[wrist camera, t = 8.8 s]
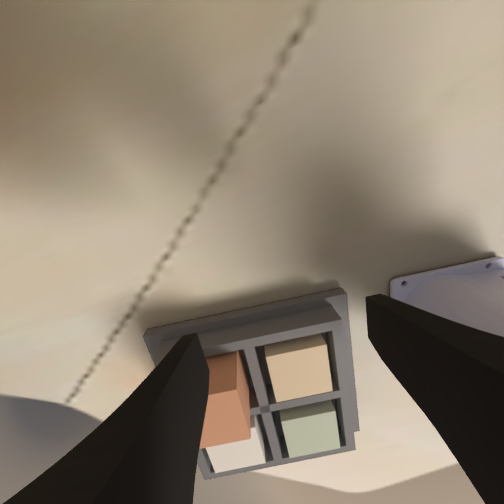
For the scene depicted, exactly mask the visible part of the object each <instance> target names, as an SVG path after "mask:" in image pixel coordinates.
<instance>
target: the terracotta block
mask: <svg viewBox="0 0 504 504" xmlns="http://www.w3.org/2000/svg"><path fill="white" fill-rule="evenodd" d="M205 358H206V361H207V364H208V367H209V370H210V375H209V394H208V401H207V407H206V413H205V419H204V425H203V430H202V436H201V442H200V448H199V449H202V448H207V447H212V446H217V445H222V444H227V443H232V442H237V441H242V440H247V439H251V428H250V404H249V381H248V376H247V373H246V369H245V365H244V361H243V358H242V354H241V350H237V351H232V352H228V353H223V354H218V355H213V356H209V357H205Z"/></svg>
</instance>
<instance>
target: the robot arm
mask: <svg viewBox="0 0 504 504" xmlns="http://www.w3.org/2000/svg"><path fill="white" fill-rule="evenodd" d="M403 281H404V283H403V284H402V282H403ZM401 284H402V285H401ZM366 312H367V327H368V338H369V340H370V341H371V343H372V345H373V346H374V348H375V350H376V351H377V353H378V354H379V356H380V357H381V359H382V360H383V362H384V363H385V364H386V366H387V367H388V368H389V369H390V371H391V372H392V373H393V375H394V376H395V377H396V378H397V380H398V381H399V382H400V383H401V385H402V386H403V387H404V388H405V390H406V391H407V392H408V393H409V395H410V396H411V397H412V398H413V400H414V401H415V402H416V403H417V405H418V406H419V407H420V408H421V410H422V411H423V412H424V413H425V415H426V416H427V417H428V419H429V420H430V421H431V423H432V424H433V425H434V427H435V428H436V430H437V431H438V433H439V434H440V435H441V437H442V438H443V440H444V441H445V443H446V444H447V446H448V447H449V449H450V450H451V452H452V453H453V455H454V456H455V458H456V459H457V461H458V462H459V464H460V465H461V467H462V468H463V470H464V471H465V473H466V475H467V476H468V478H469V479H470V481H471V482H472V484H473V485H474V487H475V488H476V490H477V491H478V493H479V495H480V496H481V498H482V499H483V501H484V502H485V504H504V258H502V257H492V258H488V259H483V260H478V261H474V262H469V263H464V264H459V265H455V266H450V267H445V268H441V269H436V270H431V271H426V272H422V273H417V274H412V275H408V276H403V277H398V278H395V279H393V280H392V281H391V282H390V297H388V296H385V295H382V294H377V295H372V296H368V297H366ZM209 375H210V370H209V367H208V364H207V361H206V358H205V355H204V352H203V349H202V346H201V343H200V340H199V337H198V335H197V333H193V334H188V335H183V336H182V337H181V338H180V339H179V340H178V341H177V343H176V344H175V345H174V346H173V347H172V349H171V350H170V351H169V352H168V353H167V355H166V356H165V357H164V358H163V359H162V360H161V362H160V363H159V364H158V365H157V366H156V367H155V369H154V370H153V371H152V372H151V373H150V374H149V376H148V377H147V378H146V379H145V380H144V381H143V382H142V383H141V384H140V385H139V386H138V387H137V389H136V390H135V391H134V392H133V393H132V394H131V395H130V396H129V397H128V398H127V399H126V400H125V401H124V402H123V403H122V404H121V405H120V406H119V407H118V408H117V409H116V410H115V411H114V412H113V413H112V414H111V415H110V416H109V417H108V418H107V419H106V420H105V421H104V422H103V423H102V424H100V425H99V426H98V427H97V428H96V429H95V430H94V431H93V432H92V433H90V434H89V435H88V436H87V437H86V438H85V439H84V440H82V441H81V442H80V443H79V444H78V445H77V446H75V447H74V448H73V449H72V450H71V451H69V452H68V453H67V454H66V455H65V456H64V457H62V458H61V459H60V460H59V461H58V462H56V463H55V464H54V465H53V466H51V467H50V468H49V469H48V470H46V471H45V472H44V473H43V474H41V475H40V476H39V477H37V478H36V479H35V480H34V481H32V482H31V483H30V484H28V485H27V486H26V487H24V488H23V489H22V490H20V491H19V492H18V493H17V494H15V495H14V496H13V497H11V498H10V499H9V500H7V501H6V502H4V503H3V504H193V493H194V482H195V473H196V466H197V459H198V453H199V448H200V442H201V436H202V430H203V425H204V419H205V413H206V407H207V401H208V394H209Z"/></svg>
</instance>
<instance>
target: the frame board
mask: <svg viewBox="0 0 504 504" xmlns="http://www.w3.org/2000/svg"><path fill="white" fill-rule="evenodd" d="M193 333H197V335H198V337H199V340H200V343H201V346H202V349H203V352H204V355H205V357H209V356H213V355H218V354H223V353H228V352H232V351H237V350H241V354H242V358H243V361H244V365H245V369H246V373H247V376H248V381H249V404H250V428H251V439H247V440H242V441H237V442H232V443H227V444H222V445H217V446H212V447H207V448H202V449H199V453H198V459H197V464H198V466H199V468H200V471H201V473H202V475H203V478H204V480H207V479H212V478H217V477H222V476H227V475H232V474H237V473H242V472H247V471H252V470H257V469H262V468H267V467H272V466H277V465H282V464H287V463H292V462H297V461H302V460H307V459H312V458H317V457H322V456H327V455H332V454H337V453H342V452H347V451H352V450H356V448H355V439H354V432H356V431H360V430H359V420H358V409H357V398H356V388H355V377H354V367H353V356H352V345H351V335H350V324H349V313H348V303H347V293H346V292H345V291H344V290H343V289H342V288H339V289H334V290H329V291H325V292H320V293H315V294H311V295H306V296H301V297H296V298H292V299H287V300H282V301H278V302H273V303H268V304H263V305H259V306H254V307H249V308H245V309H240V310H235V311H231V312H226V313H221V314H216V315H212V316H207V317H202V318H198V319H193V320H188V321H183V322H179V323H174V324H169V325H165V326H160V327H155V328H150V329H147V331H146V332H145V334H144V336H143V338H144V340H145V343H146V345H147V348H148V350H149V352H150V355H151V357H152V359H153V362H154V364H155V366H157V365H158V364H159V363H160V362H161V360H162V359H163V358H164V357H165V356H166V355H167V353H168V352H169V351H170V350H171V349H172V347H173V346H174V345H175V344H176V343H177V341H178V340H179V339H180V338H181V337H182V336H183V335H188V334H193Z"/></svg>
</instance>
